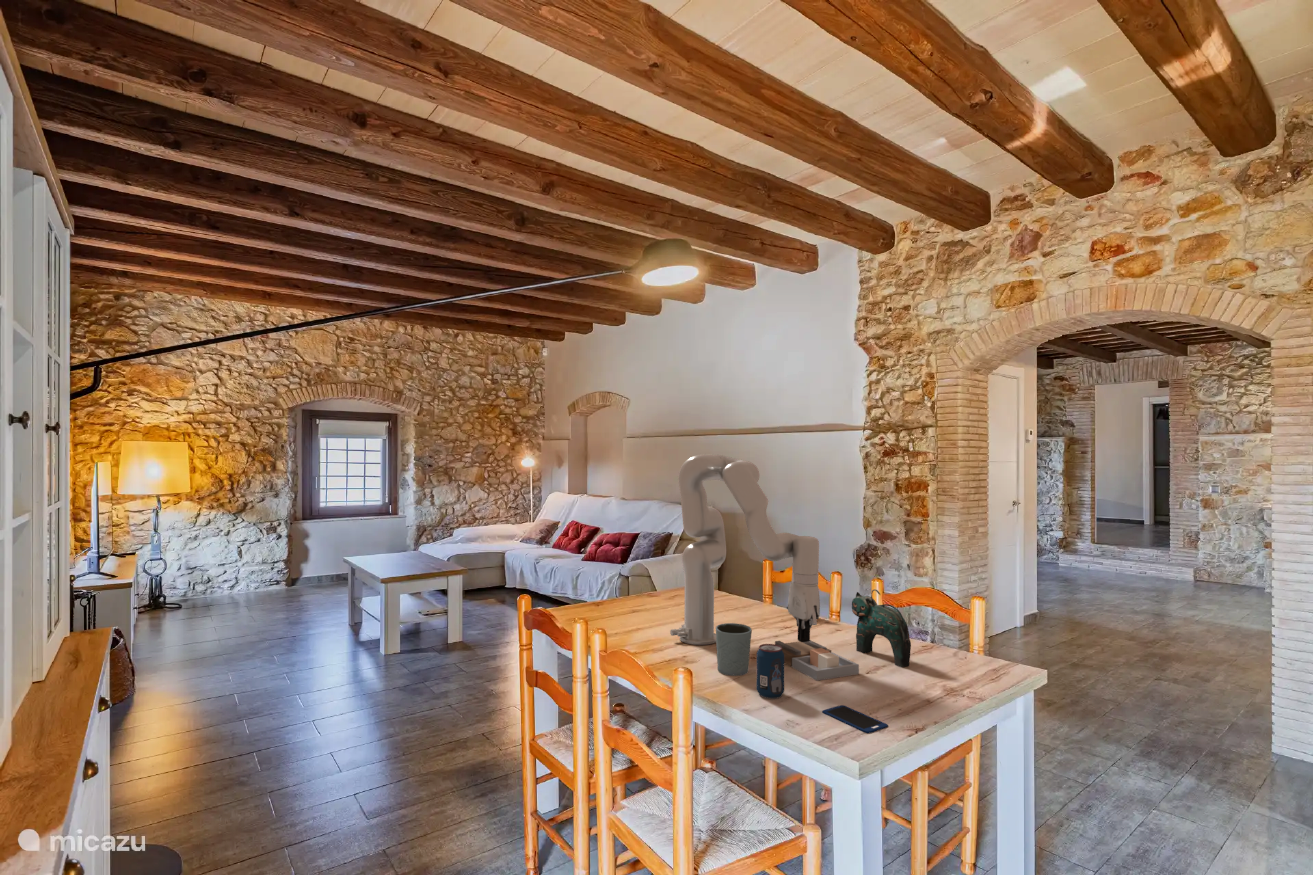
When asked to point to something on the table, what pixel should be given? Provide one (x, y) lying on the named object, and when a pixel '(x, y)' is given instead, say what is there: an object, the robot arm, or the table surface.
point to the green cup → (733, 648)
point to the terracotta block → (816, 655)
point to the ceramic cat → (881, 627)
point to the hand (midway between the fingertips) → (803, 640)
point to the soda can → (770, 671)
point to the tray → (812, 671)
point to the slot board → (797, 649)
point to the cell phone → (855, 719)
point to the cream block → (827, 660)
